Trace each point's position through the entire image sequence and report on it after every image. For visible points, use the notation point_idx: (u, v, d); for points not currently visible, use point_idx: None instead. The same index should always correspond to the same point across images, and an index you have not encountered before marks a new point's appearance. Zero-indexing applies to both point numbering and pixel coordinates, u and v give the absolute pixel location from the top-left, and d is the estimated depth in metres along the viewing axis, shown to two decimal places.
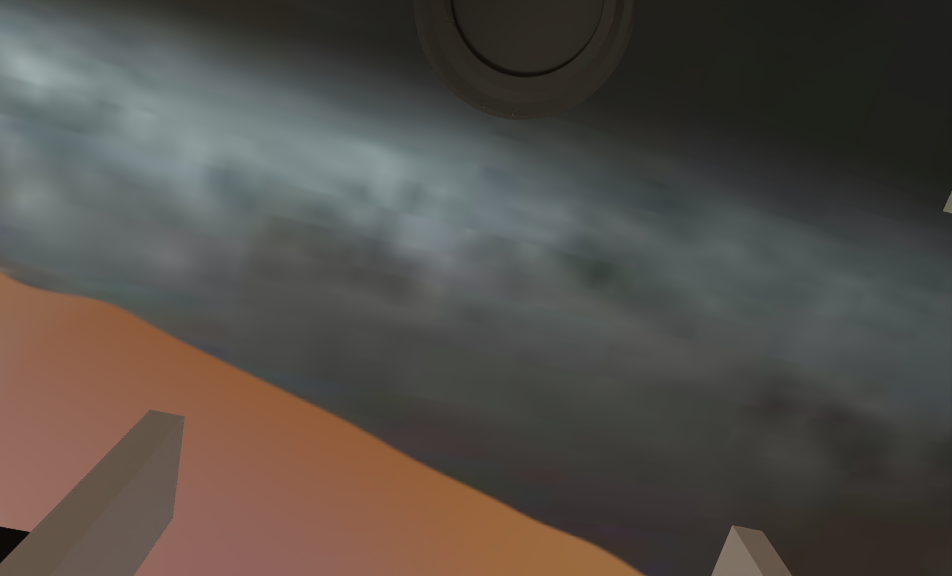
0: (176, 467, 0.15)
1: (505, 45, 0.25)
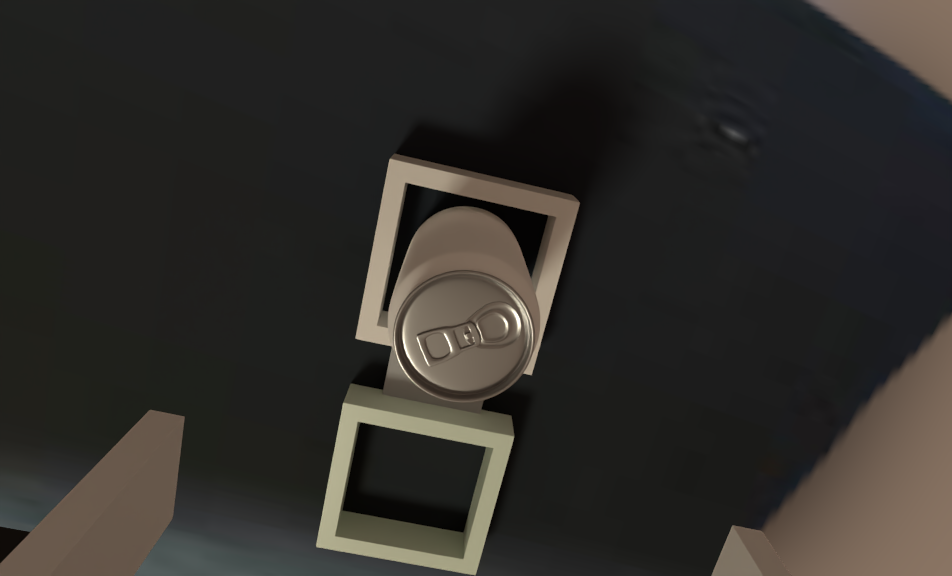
0: (176, 467, 0.15)
1: None
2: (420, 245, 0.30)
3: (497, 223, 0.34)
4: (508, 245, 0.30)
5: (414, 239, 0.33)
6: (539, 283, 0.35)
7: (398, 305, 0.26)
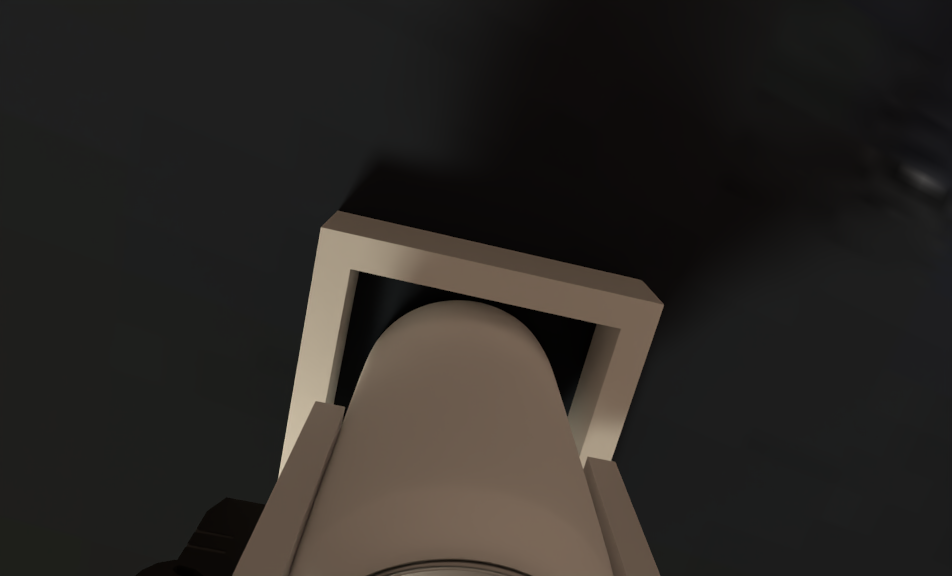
0: None
1: None
2: (367, 415, 0.15)
3: (516, 342, 0.19)
4: (542, 415, 0.15)
5: (367, 371, 0.18)
6: (586, 439, 0.20)
7: None
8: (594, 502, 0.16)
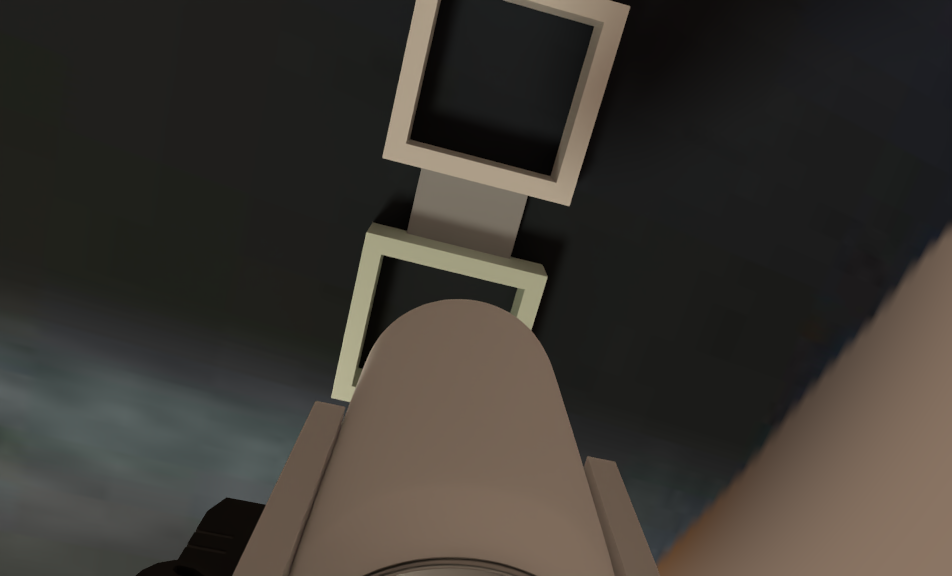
0: None
1: None
2: (367, 413, 0.15)
3: (516, 341, 0.19)
4: (543, 413, 0.15)
5: (367, 370, 0.18)
6: (582, 100, 0.32)
7: None
8: (594, 502, 0.16)
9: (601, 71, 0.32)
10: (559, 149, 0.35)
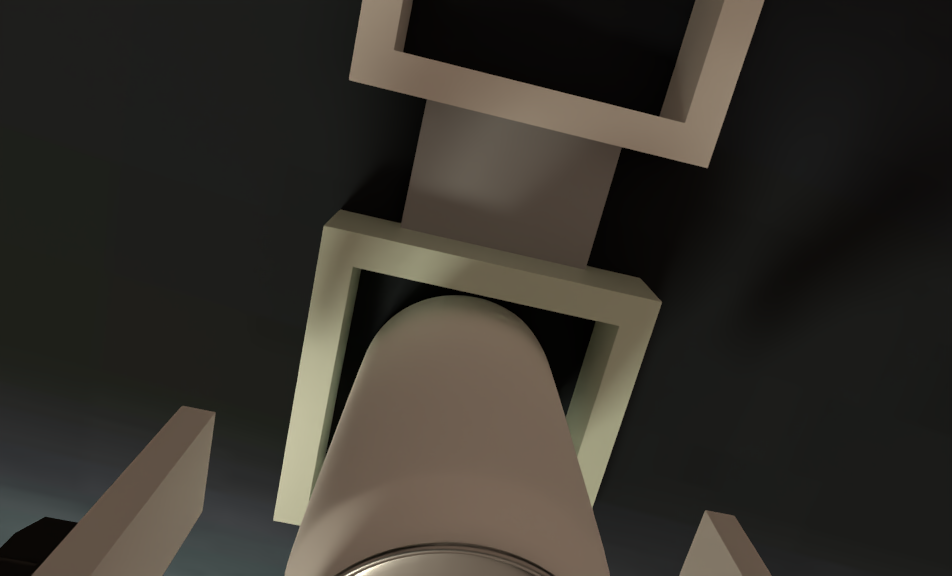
0: (207, 461, 0.15)
1: None
2: (365, 406, 0.15)
3: (513, 336, 0.19)
4: (538, 406, 0.15)
5: (365, 364, 0.19)
6: None
7: None
8: (723, 564, 0.14)
9: None
10: (679, 66, 0.19)
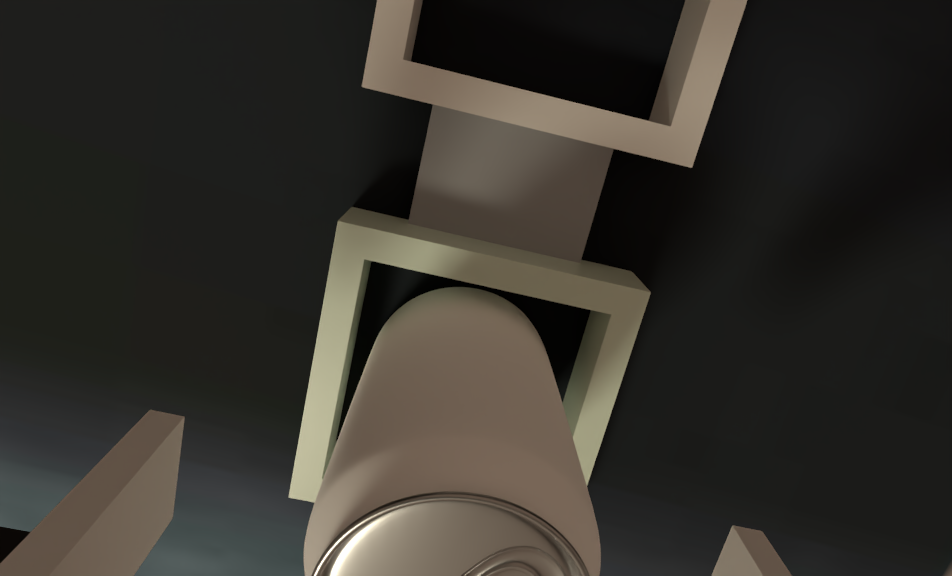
0: (176, 467, 0.15)
1: None
2: (378, 383, 0.17)
3: (512, 323, 0.20)
4: (535, 384, 0.17)
5: (376, 349, 0.20)
6: None
7: (318, 543, 0.13)
8: None
9: None
10: (666, 74, 0.21)
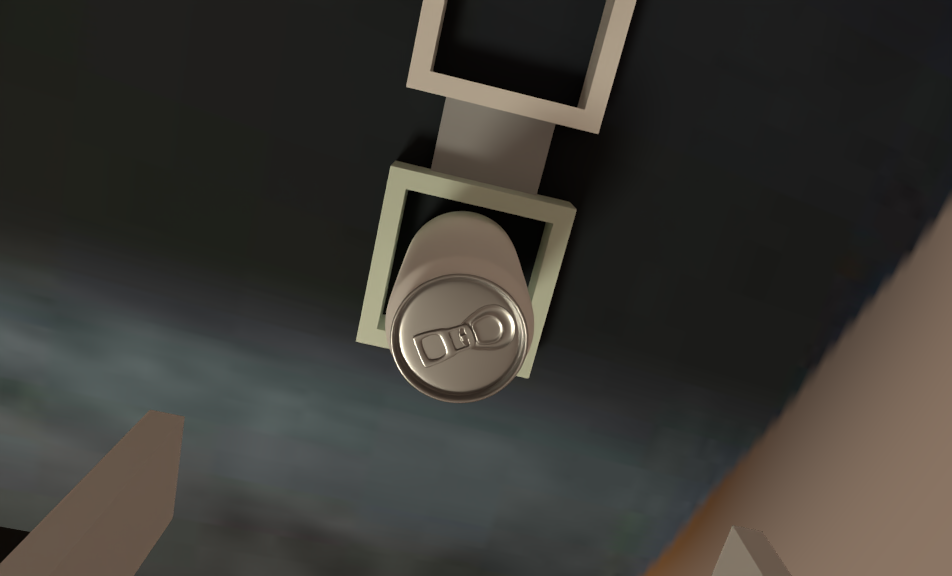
0: (176, 467, 0.15)
1: None
2: (418, 249, 0.30)
3: (494, 228, 0.34)
4: (504, 250, 0.30)
5: (412, 243, 0.34)
6: (610, 21, 0.32)
7: (395, 307, 0.27)
8: None
9: None
10: (586, 79, 0.34)
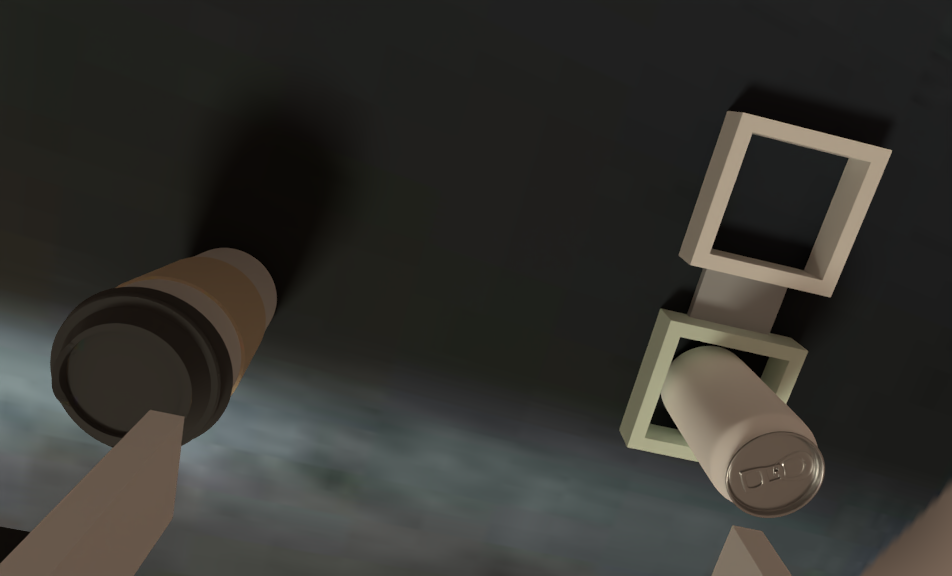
0: (176, 467, 0.15)
1: (115, 414, 0.33)
2: (712, 394, 0.41)
3: (745, 365, 0.45)
4: (775, 394, 0.41)
5: (684, 377, 0.45)
6: (848, 218, 0.42)
7: (726, 451, 0.37)
8: None
9: (865, 197, 0.42)
10: (815, 250, 0.45)
